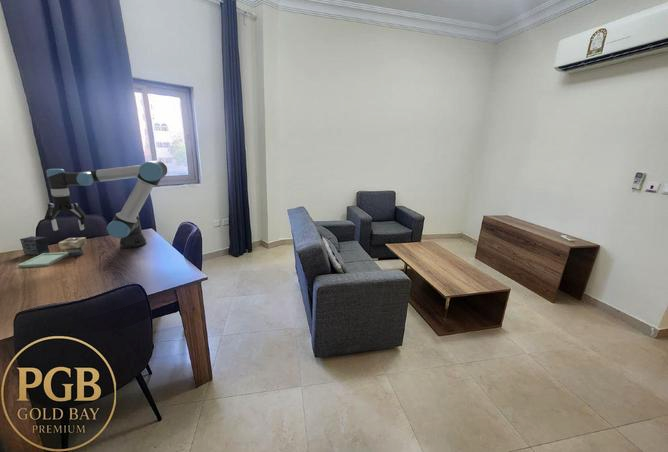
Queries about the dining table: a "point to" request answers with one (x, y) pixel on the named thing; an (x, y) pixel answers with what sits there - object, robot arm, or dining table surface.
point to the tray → (44, 259)
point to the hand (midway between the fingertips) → (69, 229)
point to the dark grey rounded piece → (74, 250)
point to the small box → (34, 245)
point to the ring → (72, 243)
